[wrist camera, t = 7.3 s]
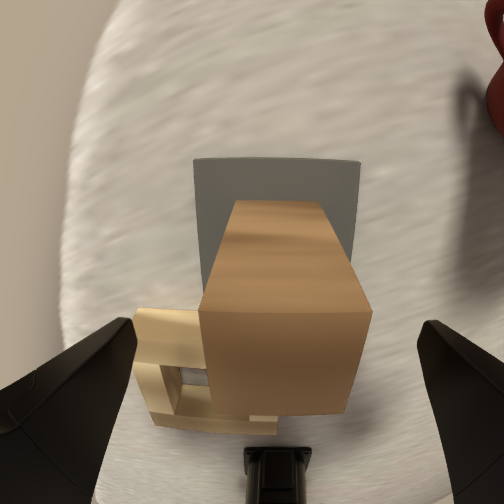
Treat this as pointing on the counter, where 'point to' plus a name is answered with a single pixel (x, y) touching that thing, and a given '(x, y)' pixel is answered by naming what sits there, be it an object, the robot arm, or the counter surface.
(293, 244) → the peg
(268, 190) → the mat
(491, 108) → the mug
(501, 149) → the counter surface
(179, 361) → the holder
